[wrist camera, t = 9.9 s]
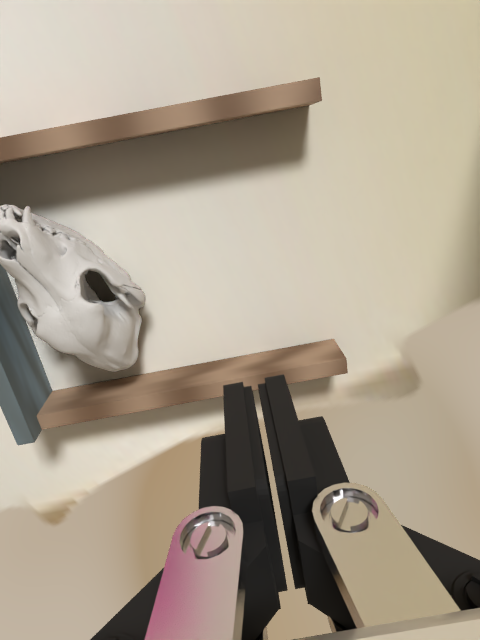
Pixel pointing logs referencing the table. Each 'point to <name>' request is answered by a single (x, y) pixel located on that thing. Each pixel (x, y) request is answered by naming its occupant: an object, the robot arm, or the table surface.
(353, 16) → the table surface
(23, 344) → the bay
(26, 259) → the skull
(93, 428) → the table surface
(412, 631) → the robot arm
